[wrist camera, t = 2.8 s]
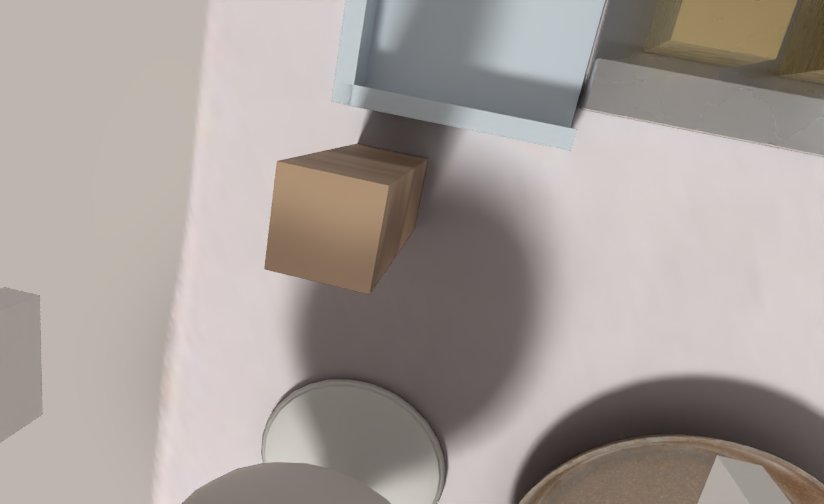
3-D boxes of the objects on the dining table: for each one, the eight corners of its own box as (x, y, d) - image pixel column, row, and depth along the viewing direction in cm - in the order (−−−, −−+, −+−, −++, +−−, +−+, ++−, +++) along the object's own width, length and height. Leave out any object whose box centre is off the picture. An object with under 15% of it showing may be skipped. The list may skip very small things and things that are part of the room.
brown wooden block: (357, 143, 28) (276, 161, 18) (428, 158, 28) (388, 185, 18) (345, 214, 30) (264, 269, 19) (414, 229, 29) (369, 294, 19)
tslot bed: (640, -117, 23) (653, -138, 21) (1023, -59, 22) (1074, -75, 20) (578, 108, 26) (585, 108, 24) (914, 174, 25) (949, 179, 23)
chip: (670, -43, 23) (706, -74, 19) (763, -28, 23) (818, -56, 19) (642, 51, 24) (670, 40, 20) (730, 67, 24) (775, 59, 20)
